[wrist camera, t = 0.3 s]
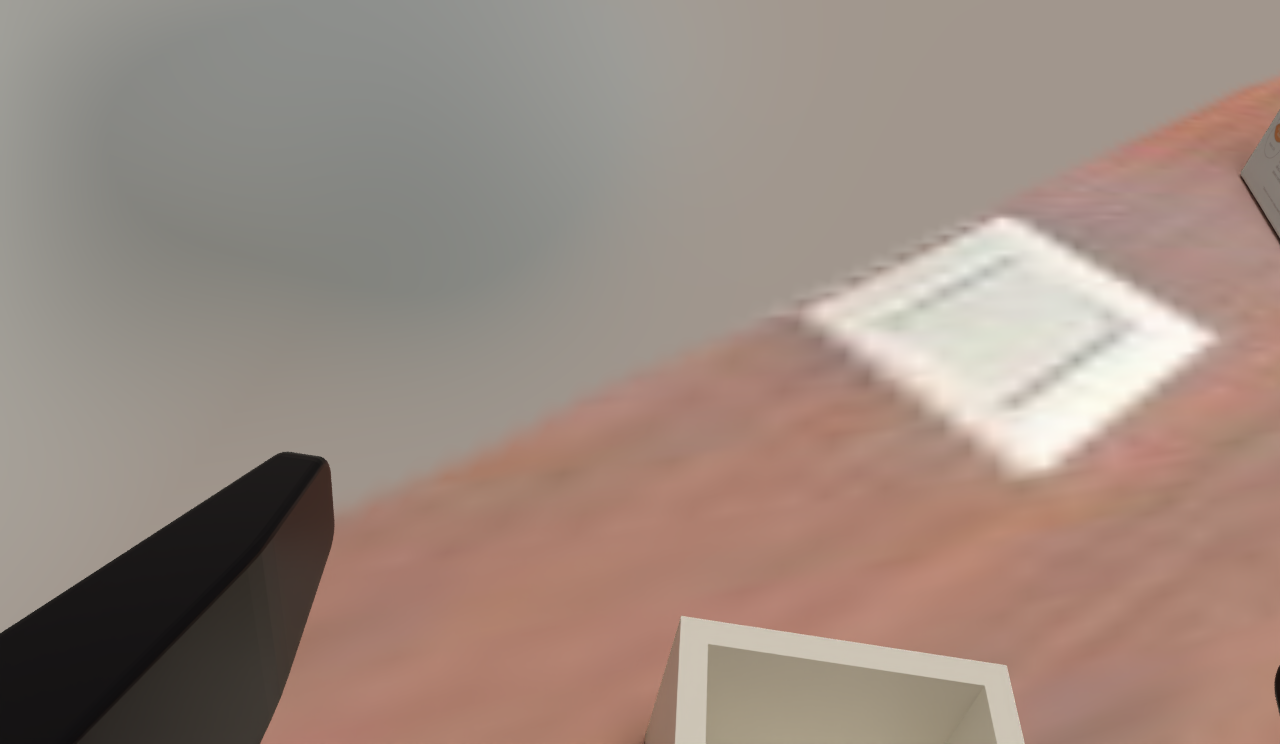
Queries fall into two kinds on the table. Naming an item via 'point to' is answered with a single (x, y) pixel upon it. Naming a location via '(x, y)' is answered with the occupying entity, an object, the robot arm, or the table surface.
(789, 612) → the table surface
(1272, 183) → the small box
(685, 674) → the open cream box
